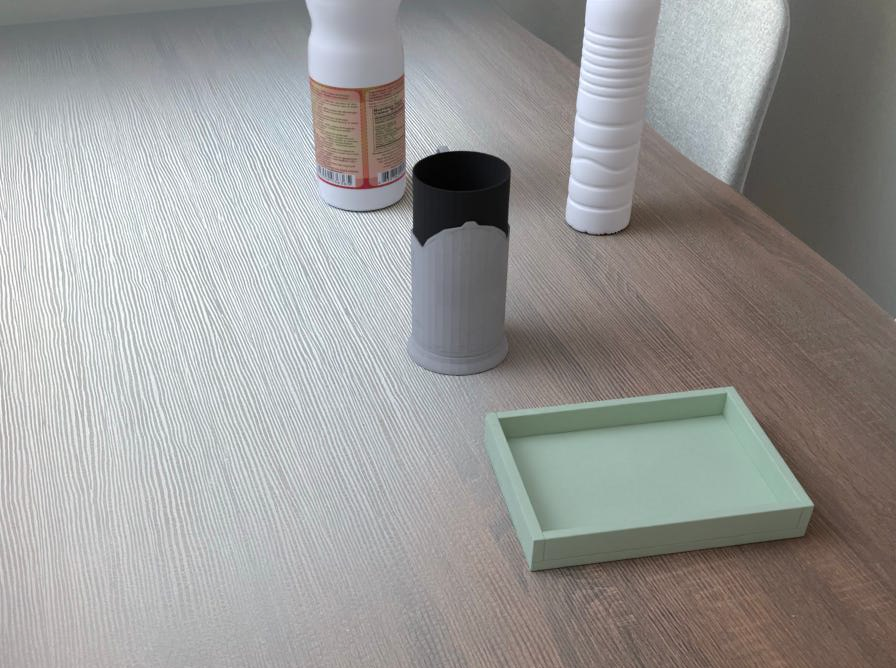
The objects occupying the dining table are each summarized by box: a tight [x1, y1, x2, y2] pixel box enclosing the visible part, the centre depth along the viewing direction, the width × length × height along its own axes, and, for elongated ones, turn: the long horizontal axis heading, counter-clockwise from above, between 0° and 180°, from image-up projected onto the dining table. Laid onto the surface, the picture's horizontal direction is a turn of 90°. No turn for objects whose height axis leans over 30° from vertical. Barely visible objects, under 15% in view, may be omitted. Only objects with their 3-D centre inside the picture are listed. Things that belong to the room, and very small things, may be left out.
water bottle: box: [565, 0, 662, 236], centre depth 96 cm, size 9×6×25 cm
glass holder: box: [406, 145, 512, 376], centre depth 85 cm, size 9×14×15 cm, turn 9°
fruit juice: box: [304, 0, 407, 212], centre depth 99 cm, size 9×9×28 cm
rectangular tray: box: [483, 386, 815, 572], centre depth 74 cm, size 20×15×3 cm
